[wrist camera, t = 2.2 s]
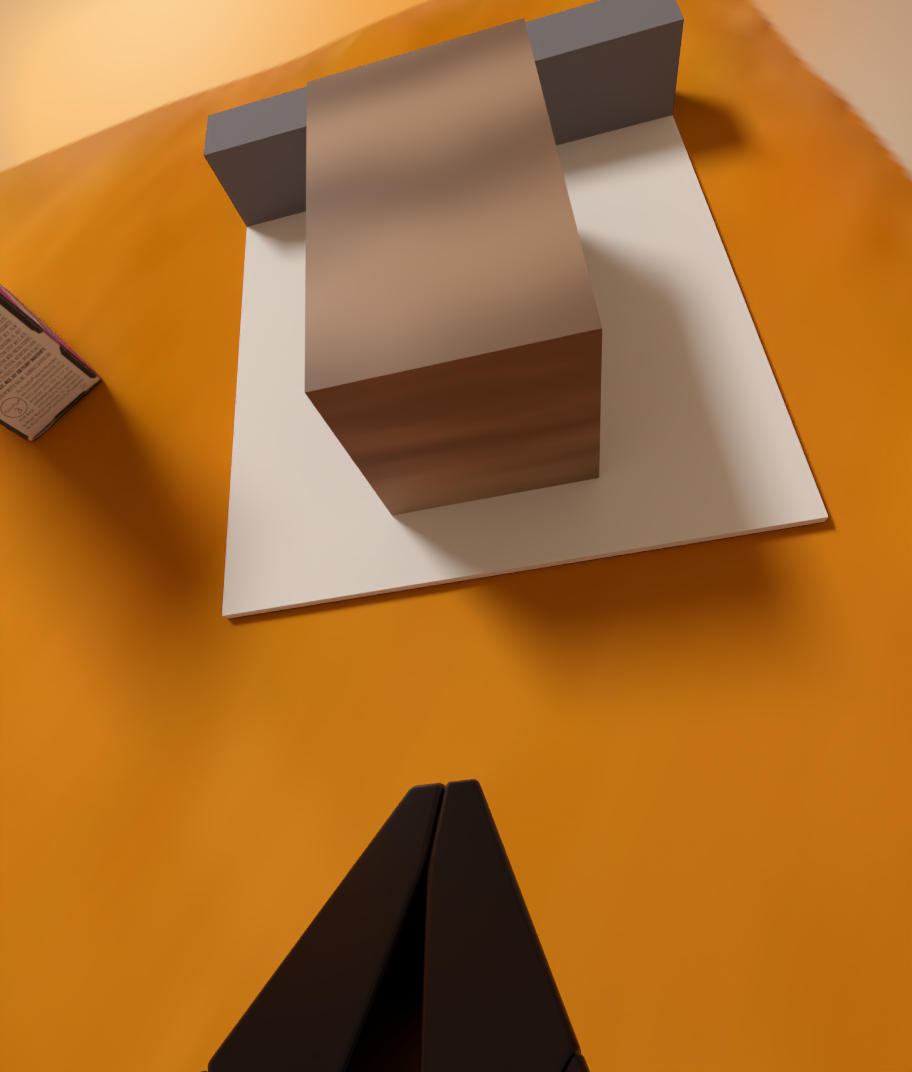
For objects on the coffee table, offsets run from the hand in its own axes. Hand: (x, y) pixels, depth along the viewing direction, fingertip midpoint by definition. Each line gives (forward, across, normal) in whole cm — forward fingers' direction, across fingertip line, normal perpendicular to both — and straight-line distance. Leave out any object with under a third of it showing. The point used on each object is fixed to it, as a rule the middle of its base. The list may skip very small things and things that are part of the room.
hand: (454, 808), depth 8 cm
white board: (+23, 0, -5) cm, 24 cm away
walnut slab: (+21, 0, -4) cm, 22 cm away
